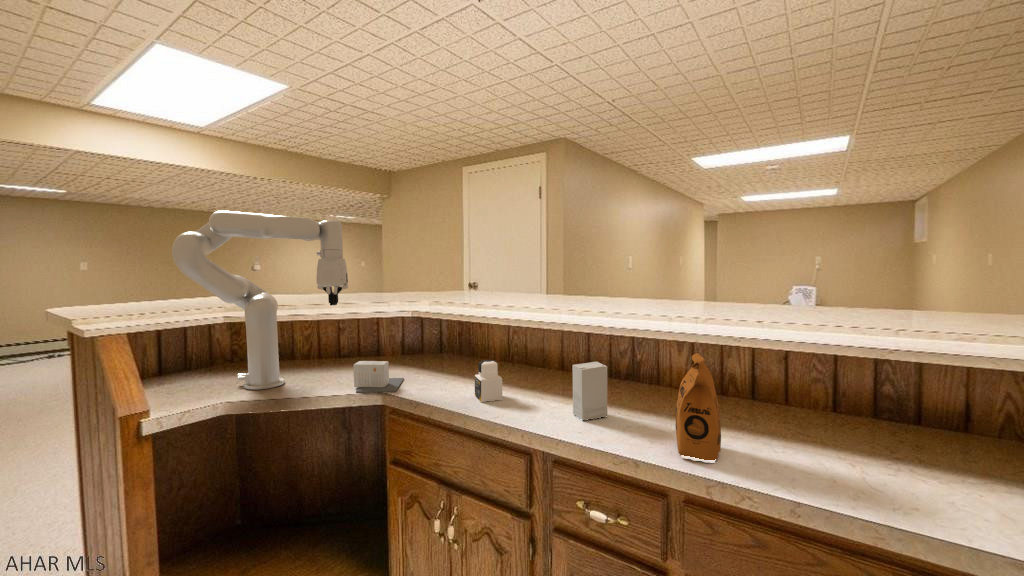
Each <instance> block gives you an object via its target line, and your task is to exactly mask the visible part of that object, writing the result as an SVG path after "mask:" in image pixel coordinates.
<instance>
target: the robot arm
mask: <svg viewBox="0 0 1024 576" xmlns="http://www.w3.org/2000/svg"><path fill="white" fill-rule="evenodd" d="M232 238H245V239H246V238H247V239H258V240H259V239H261V240H270V239H288V240H303V241H307V242H311V241H320V250H319V251H316V256H319V258H318V260H317V265H316V266H317V267H316V285H317V289H318V290H322V291H324V292H325V293H326V294H327V295H328V296H327V297H328V304H329V306H337V305H338V303H339V294H340V292H342V290H346V289H349V284H348V282H349V276H348V275H349V274H348V268H347V262H346V259H345V258H344V250H343V249H344V246H343V224H342V222H341V221H339V220H333V219H331V220H326V219H325V220H322V221H317V220H315V219H312V218H308V217H300V216H298V217H297V216H287V215H285V216H284V215H274V214H270V213H269V214H268V213H255V212H245V211H244V212H242V211H233V210H231V211H230V210H217V211H214V212H213V213H212V214H210V217H209V218H208V222H207V223H205V224H204V225H202V226H200V228H198V229H196V230H195V231H186V232H182V233H180V234H178V236H177V237H175V240H174V241H173V244H172V250H171V254H172V255H171V256H172V259H173V262H174V264H175V265H176V268H177V269H178V270H179V271H180V273H182V274H183V275H184V276H186V277H187V278H188V279H190V280H191V281H193V282H194V283H196V284H197V285H199V286H200V287H202V288H204V289H205V290H207V291H208V292H209V293H211V294H213V295H214V296H216V297H217V298H218V299H220V300H221V301H223V302H224V303H226V304H230V305H231V304H234V305H236V306H238V308H240V309H242V310H243V311H244V321H245V329H246V330H245V331H246V332H245V333H246V346H247V347H246V351H247V373H237V376H236V377H237V378H236V379H237V381H245V382H244V383H243V388H244V389H246V390H252V391H253V390H254V391H255V390H267V389H273V388H276V387H279V386H282V385H283V384H285V379H284V378H283V377H280V361H279V357H280V356H279V335H278V320H277V319H278V318H277V317H278V314H277V313H278V309H279V305H278V301H277V299H276V298H275V297H274V296H273V295H272V294H271V293H269V292H268V291H266V290H265V289H263V288H261V287H260V286H258V285H257V284H255V283H254V282H252V281H251V280H249V279H248V278H247V277H244V276H242V275H238V274H232V273H231V272H230V271H228V270H226V269H224V268H223V267H221V266H220V265H218V263H216V262H214V261H212V260H210V259H209V258H208V257H207V256H208V255H210V254H211V253H213V252H214V251H216V250H217V249H218V248H220V247H221V246H222V245H224V244H226V243H227V242H228V241H229V240H231V239H232Z"/></svg>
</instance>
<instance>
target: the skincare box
mask: <svg viewBox="0 0 1024 576" xmlns="http://www.w3.org/2000/svg"><path fill="white" fill-rule="evenodd" d="M573 414H574V415H576V416H577V417H579V418H580V419H582V420H587V419H593V420H595V419H594V418H599V419H602V418H601V417H605V418H607V417H608V366H607V365H605V364H603V363H600V362H599V361H592V362H591V361H590V362H586V363H585V362H583V363H576V364H572V415H573ZM574 415H573V416H574ZM576 416H575V417H576ZM606 416H607V417H606ZM577 417H576V418H577ZM580 419H579V420H580Z"/></svg>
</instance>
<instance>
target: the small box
mask: <svg viewBox="0 0 1024 576" xmlns="http://www.w3.org/2000/svg"><path fill="white" fill-rule="evenodd" d="M389 366H390V365H389V361H388V360H387V361H384V360H382V361H380V360H379V361H377V360H359V361H357V362H355V363H354V364H353V387H354V388H359V387H376V388H384V387H385V386H386V385H387V384H388V383H389V378H390V372H389V370H390V369H389V368H390V367H389Z"/></svg>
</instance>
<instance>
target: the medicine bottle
mask: <svg viewBox="0 0 1024 576" xmlns="http://www.w3.org/2000/svg"><path fill="white" fill-rule="evenodd" d="M498 365H499V363H498V362H497V360H494V359H483V360H480V361H479V362H478V374H475V375H474V397H475V398H476V399H477V400H478V401H479V403H487V402H486V401H490V402H496V401H495V400H499V401H503V378H502V377H501V376H500V375H499V373H498V372H499V369H498V368H499V366H498Z"/></svg>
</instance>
